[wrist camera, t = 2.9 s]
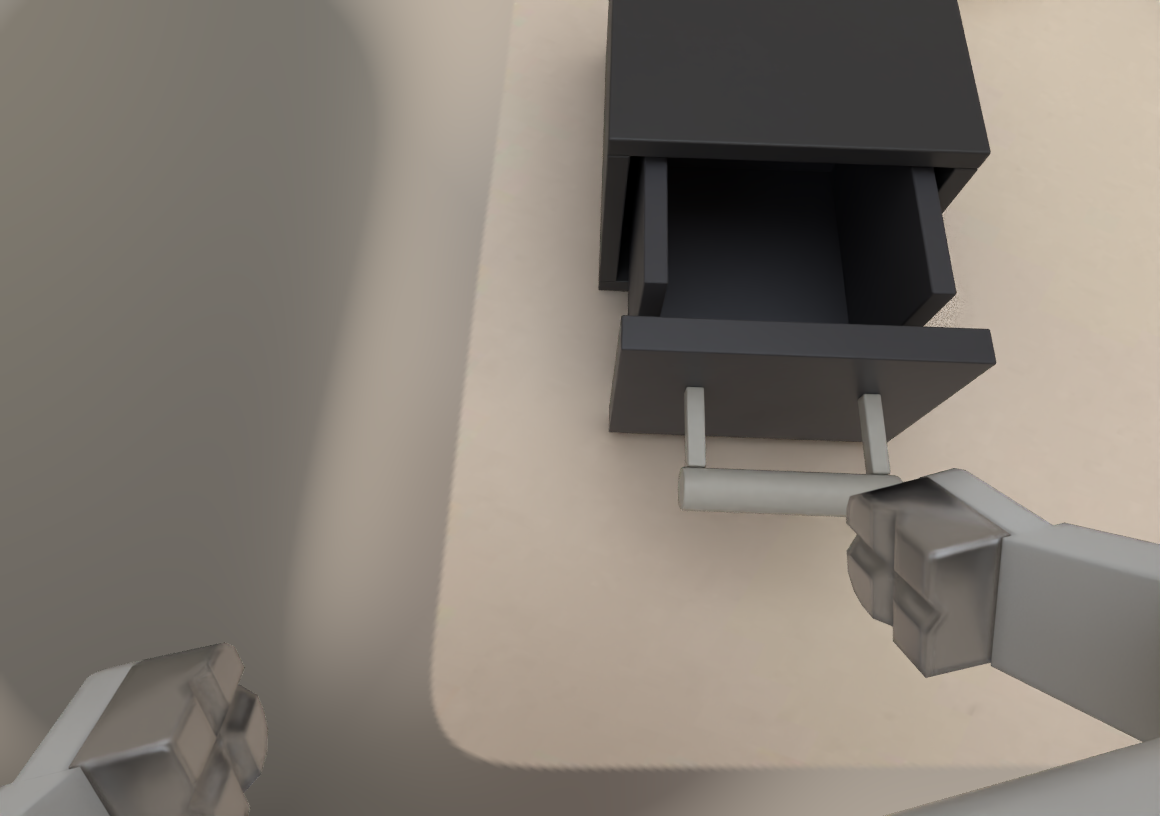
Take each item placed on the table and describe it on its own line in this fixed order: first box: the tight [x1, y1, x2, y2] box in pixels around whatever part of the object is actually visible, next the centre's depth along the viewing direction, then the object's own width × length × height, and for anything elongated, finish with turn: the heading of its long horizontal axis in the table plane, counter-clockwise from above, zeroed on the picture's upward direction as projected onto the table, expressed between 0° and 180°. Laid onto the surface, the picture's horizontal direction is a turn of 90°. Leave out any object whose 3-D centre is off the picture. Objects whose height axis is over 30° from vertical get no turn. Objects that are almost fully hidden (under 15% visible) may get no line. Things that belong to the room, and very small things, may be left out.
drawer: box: [609, 156, 996, 517], centre depth 26 cm, size 18×11×8 cm, turn 178°
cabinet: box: [598, 0, 991, 291], centre depth 29 cm, size 15×13×10 cm
